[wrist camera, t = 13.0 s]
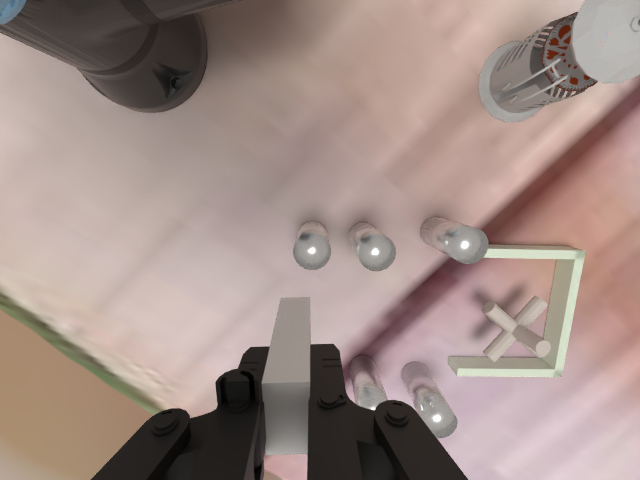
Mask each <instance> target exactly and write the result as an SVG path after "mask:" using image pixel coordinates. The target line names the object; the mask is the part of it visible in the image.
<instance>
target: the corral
mask: <svg viewBox="0 0 640 480" xmlns="http://www.w3.org/2000/svg"><path fill="white" fill-rule="evenodd" d="M584 256H585V251H584V250H581V249H577V248H573V247H569V246H540V245H493V244H488V250H487V252H486V254H485V256H484V257H483V258H532V259H557V261H556V267H555V273H554V278H553V284H552V290H551V296H550V302H549V307H548V313H547V319H546V325H545V331H544V336H543V339H545V340H546V341H548V342H549V343H550V344H551V349H550V351H549V353H547V355H546V356H544V357H542V358H517V357H500V358H499V359H498V360H497V361H496V362H494V361H493V360H492V359H490V358H489V357H449V360H448V365H449V366H450V367H451V369H452V370H453V371H454V373H455V374H456V375H457V376H499V377H562V372H563V367H564V362H565V357H566V351H567V346H568V341H569V335H570V330H571V325H572V320H573V314H574V309H575V304H576V298H577V293H578V288H579V283H580V277H581V272H582V267H583V261H584Z"/></svg>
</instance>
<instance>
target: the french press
mask: <svg viewBox="0 0 640 480" xmlns="http://www.w3.org/2000/svg"><path fill="white" fill-rule="evenodd" d="M549 26H553V27H554V28H553V29H544V28H545V27H549ZM541 32H546V33H549V35H540V33H541ZM535 33H536V34H535ZM535 33H534V34H535V35H534V34H532V36H529V37H528V38H529V39H528V38H526V39H525V40H524V41H512V42H510V43H508V44H505V45H503V46H501V47H499V48H497V49H496V50H495V51H494V52H493V53H492V54H491V55H490V57H489V58H488V59H487V60H486V62H485V64H484V66H483V68H482V70H481V73H480V75H479V88H478V92H479V95H480V98H481V101H482V105H483V106H484V108H485V109H486V110H487V111H488V112H489V113H490V114H491V116H492V117H494V118H497V119H499V120H501V121H504V122H521V121H523V120H525V119H528V118H530V117H532V116H534V115H535V114H536V113H537V112H538V111H539V110H540V109H541V108H542V107H543V106H545V105H549V103H550V104H551V103H554V102H558V100H559V101H561V100H563V99H567V98H570V97H573V96H575V95H577V94H579V93H581V92H584V91H585V90H586V89H587V88H588V87H591V86H593V85H595V84H596V83H597V82H598V81H599V82H601V83H622V82H624V81H627V80H629V79H631V78H633V77H636V76H638V75H639V74H640V0H586V1H585V2H583V4H582V6H581V8H580V10H579V12H575V13H573V14H571V15H569V16H567V17H563V18H560V19H558V20H555V21H553V22H550V23H549V24H547V25H546V26H544V27H542V28H541V29H540V30H539V31H537V32H535ZM532 37H533V38H532ZM530 38H532V39H530ZM537 38H544V39H546V41H545V42H543V41H541V40H536V39H537ZM527 39H528V40H527ZM534 43H537V44H540V45H543V47H542V48H541V47H539V46H537V45H534ZM553 86H556V87H555V90H554V93H553V95H552V96H550V93H551V91H552V87H553ZM559 88H561V89H562V90H561V92H560V94H559V96H558V97H556V95H557V93H558V90H559ZM565 90H566V91H568V93H567V95H566V97H564V98H562V96H563V95H564V92H565ZM572 91H576V93H575V94H574V95H572V96H570V95H571V93H572ZM569 96H570V97H569ZM547 101H549V102H547Z"/></svg>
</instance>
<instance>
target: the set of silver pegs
mask: <svg viewBox="0 0 640 480" xmlns="http://www.w3.org/2000/svg"><path fill="white" fill-rule="evenodd" d="M420 234H421V238H422V240H423V241H424V242H425V243H427V244H429V245H430V246H432V247H434V248H436V249H438V250H439V251H441V252H443V253H445V254H447V255H448V256H450V257H452V258H454V259H456V260H457V261H459V262H461V263H464V264H473V263H476V262H478V261H479V260H481V259H482V258H483V257H484V256H485V254H486V252H487V250H488V238H487V236H486V235H485V233H484V232H483V231H481V230H480V229H477V228H474V227H470V226H467V225H463V224H460V223H457V222H453V221H450V220H446V219H443V218H439V217H432V218H429V219H427V220H426V221H425V222H424V223H423V225H422V227H421V230H420ZM348 239H349V242H350V244H351V246H352V248H353V250H354V251H355V253H356V255H357V256H358V258H359V260H360V261H361V263H362V264H363V266H364V267H366V268H367V269H369V270H372V271H381V270H384V269H386V268H388V267H389V266H390V265H391V264H392V263H393V261H394V259H395V255H396V250H395V246H394V244H393V242H392V241H391V240H390V239H389V238H388V237H386V236H385V235H384V234H382V233H381V232H380V231H378V230H377V229H376V228H375V227H373V226H372V225H370V224H368V223H364V222H363V223H358V224H356V225H354V226H353V227H352V228H351V230H350V232H349V236H348ZM293 253H294V258H295V260H296V262H297V263H298V264H299V265H300V266H301V267H303V268H305V269H309V270H316V269H319V268H321V267H323V266H324V265H325V264H326V263H327V262H328V260H329V258H330V255H331V248H330V244H329V240H328V236H327V232H326V230H325V228H324V226H323V225H322V224H320V223H318V222H315V221H310V222H307V223H305V224H303V225H302V226H301V228H300V229H299V232H298V235H297V239H296V242H295V245H294V251H293ZM349 369H350V375H351V380H352V385H353V390H354V395H355V401H356V404H357V405H359V406H361V407H364V408H367V409H372V410H375V408H376V407H377V406H378V404H379V403H381V402H384V401H386V400H387V397H386V394H385V391H384V388H383V385H382V382H381V379H380V376H379V373H378V370H377V367H376V364H375V362H374V360H373V359H372V358H371V357H369V356H367V355H359V356H357V357H355V358H354V359H353V360H352V361H351V362H350V365H349ZM401 376H402V379H403V381H404V383H405V386H406V388H407V390H408V392H409V395H410V397H411V399H412V401H413V404H414V406H415V408H416V410H417V412H418V414H419V416H420V417H421V418H422V420H423V421H424V422H425V424H426V425H427V426H428V428H429V429H430V430H431V431H432V433H433V434H434V435H435V437H436V438H445V437H447V436H449V435H451V434H452V433H453V432H454V431H455V429H456V427H457V418H456V416H455V415H454V413H453V411H452V410H451V408H450V406H449V405H448V403H447V401H446V400H445V398H444V396H443V395H442V393H441V391H440V390H439V388H438V386H437V385H436V383H435V381H434V380H433V378H432V376H431V375H430V373H429V371H428V370H427V368H426V367H425V365H424V364H422V363H420V362H411V363H408V364H407V365H406V366H405V367H404V368H403V370H402V373H401Z"/></svg>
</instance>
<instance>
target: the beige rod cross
mask: <svg viewBox="0 0 640 480" xmlns="http://www.w3.org/2000/svg"><path fill="white" fill-rule="evenodd" d="M547 306H548V304H547V303H546V302H545V301H544V300H542V299H540V298H539V297H537V296H534V297H533V298H532V299H531V300H530V301H529V302H528V304H527V305H526V306H525V307H524V308H523V309H522V310H521V311H520V312H519V313H518V314H517V315H516V317H515V318H514V319H513V318H512V317H510V316H509V315H508V314H507V313H506V312H504V311H503V310H502V309H501V308H500V307H499V306H497V305H496V304H495V303H494V302H491V301H490V302H487V303H486V304H485V305H484V306H483V308H482V311H483V312H484V313H485V314H486V315H487V318H488V319H489V320H491V321H492V322H493V323H495V324H496V325H498V326H499V327H501V328H502V329H503V331H502V332H501V333H500V334H499V335H498V336H497V337H496V338H495V339H494V340H493V341H492V342H491V344H490V345H489V346H488V347H487V348H486V349H485V350H484V351H483V353H485V354H486V355H487V356H488V357H489V358H490V359H492V360H493V361H494V362H496V361H497V360H498V359H499V358H500V356H501V355H502V354H503V353H504V352H505V351H506V350H507V349H508V348H509V347H510V346H511V345H512V344H513V343H514V341H515V340H517V341H518V342H519V343H521V344H522V345H523V346H524V347H525V348H527V349H528V350H529V351H530V352H531V353H533V354H534V355H535V356H536V357H539V358H542V357H544V356H546V355H547V353H549V351H550V349H551V344H550V343H549V342H548V341H546V340H545V339H543V338H542V337H540V336H538V335H537V334H535V333H533V332H532V331H530V330H529V329H527V328H528V326H529V325H530V324H531V323H532V322H533V321H534V320H535V319H536V318H537V317H538V316H539V315H540V314H541V313H542V311H543V310H544V309H545V308H546V307H547Z"/></svg>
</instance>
